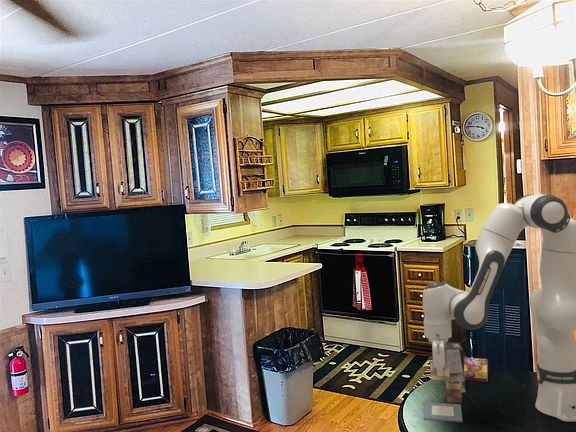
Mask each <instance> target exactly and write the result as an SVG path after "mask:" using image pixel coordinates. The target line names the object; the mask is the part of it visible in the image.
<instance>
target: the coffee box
mask: <svg viewBox="0 0 576 432" xmlns="http://www.w3.org/2000/svg"><path fill="white" fill-rule="evenodd" d="M444 351H445V362H448V363H449V374H450V380H444V382H445V384H446V383H452V384H460V385H461V393H462V394H463V393H466V380H465V375H464V361H465V357H464V348H463V347H462V345H461V343H460V342H446V343H445V347H444Z"/></svg>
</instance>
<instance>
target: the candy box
mask: <svg viewBox="0 0 576 432" xmlns="http://www.w3.org/2000/svg"><path fill="white" fill-rule="evenodd" d="M464 375H465V381H469V382H470V381H472V382H484V383H485V382H486V383H488V381H489V380H488V375H489V365H488V359H487V358H476V357H475V358H474V357H464Z"/></svg>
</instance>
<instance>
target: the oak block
mask: <svg viewBox="0 0 576 432" xmlns="http://www.w3.org/2000/svg"><path fill="white" fill-rule="evenodd" d="M429 367H430V368H429V371H430V381H445V380H450V374H449V363H448V362H445V367H444V368H443V376H437V369H436V367H434V366H433V361H429Z"/></svg>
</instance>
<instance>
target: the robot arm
mask: <svg viewBox="0 0 576 432" xmlns="http://www.w3.org/2000/svg"><path fill="white" fill-rule="evenodd" d="M527 227H530V228H533V229H539V230H540V232H541V235H542V243H541V244H542V245H541V254H540V261H539V271H538V272H539V276H540V281H541V288H539V289H536V290H534V291H533V292H532V293H531V295H530V297H529V298H528V299H529V300H528V302H529V307H530V311H531V317H532V322H533V327H534V332H535V337H536V343H537V344H536V345H537V360H538V361H537V363H538V364H537V365H536V375H537V376H536V377H537V381H538V390H537V396H536V401H535V404H534V406H535V409H537V410H538V411H539V412H541V413H543V414H544V415H547V416H551V417H554V418H557V419H559V420H561V421H563V422H576V344H575V343H576V342H575V340H574V338H573V334H572V332H574V331H576V219H574V218H572V217H571V216H570V214H569V210H568V207H567V205H566V202H564V200H562V199H561V198H560V197H558V196H556V195H552V194H543V193H536V194H527V195H524V196H521V197H519V198H518V199H517V200H516V201H514V202H512V203H511V202H501V203H499V204H497V205H495V207H494V208H493V209H492V211H491V212H490V213H489V215H488V216H487V218H486V220H485V222H484V223H483V224H482V228H481V229H480V231H479V233H478V235H477V238H476V243H475V246H474V247H475V252H476V255H477V258H478V263H479V264H478V270H477V273H476V275H475V278H474V279H473V280H474V281H473V283H472V285H471V287H470V289H469V291H466V290H463V289H462V290H461V289H458V288H455V287H454V286H451V285H450V284H447V283H446V282H445V281H436V282H432V283H429V284H427V285H426V286H425V287H424V288H423V293H422V311H423V313H424V318H423V332H424V333H423V335H424V337H425V338H426V339H427V340H428V342H430V343H432V346H431V347H432V349H431V350H432V352H431V353H432V362H433V366H434V367H436V369H437V376H443V368H444V367H445V351H444V347H445V343H449V339H450V338H452V337H453V336H452V334H453V333H452V320H455V321H456V323H457V325H459V326H460V327H461V328H462V329H465V330H468V331H474V330H478V329H481V328H482V327H483V326H484V325H485V324H486V323H487V321H488V318H489V311H490V309H489V308H490V301H491V300H492V299H491V298H492V296H493V294H494V291H495V288H496V286H497V284H498V281H499V279H500V277H501V274H502V272H503V269H504V266H505V264H506V261H507V259H508V257H509V256H510V253H511V252H512V250H513V248H514V246H515V245H516V242H517V239H518V238H519V235H520V233H521V232H522V231H523V230H524V229H526V228H527Z"/></svg>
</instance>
